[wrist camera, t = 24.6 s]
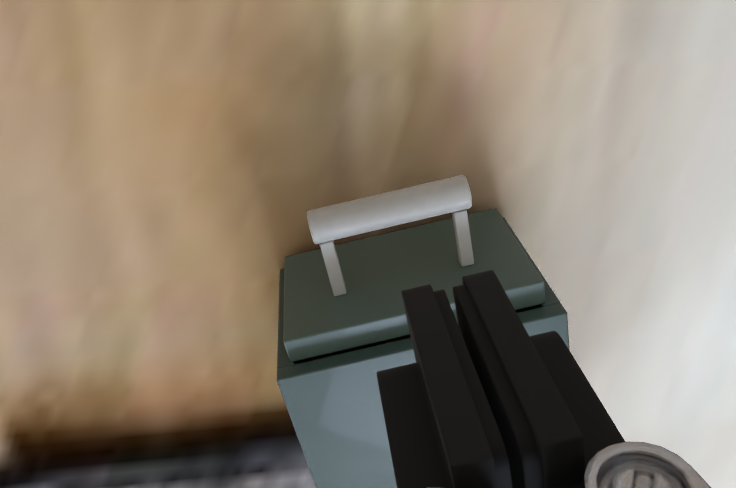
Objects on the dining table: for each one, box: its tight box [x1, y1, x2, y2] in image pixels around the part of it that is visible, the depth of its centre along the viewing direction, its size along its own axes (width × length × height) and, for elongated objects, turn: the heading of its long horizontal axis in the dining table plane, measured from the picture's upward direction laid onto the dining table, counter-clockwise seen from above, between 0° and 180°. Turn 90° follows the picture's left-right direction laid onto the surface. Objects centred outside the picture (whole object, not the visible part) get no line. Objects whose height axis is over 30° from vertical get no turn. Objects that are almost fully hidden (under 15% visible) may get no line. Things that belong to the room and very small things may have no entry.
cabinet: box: [277, 218, 569, 488], centre depth 34 cm, size 15×13×9 cm
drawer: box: [283, 175, 545, 362], centre depth 32 cm, size 18×11×7 cm, turn 12°
